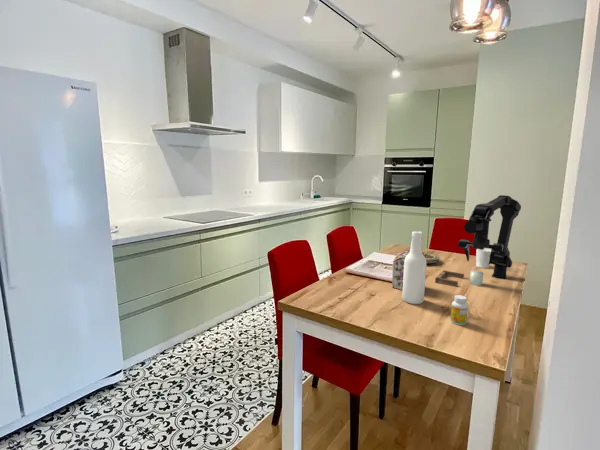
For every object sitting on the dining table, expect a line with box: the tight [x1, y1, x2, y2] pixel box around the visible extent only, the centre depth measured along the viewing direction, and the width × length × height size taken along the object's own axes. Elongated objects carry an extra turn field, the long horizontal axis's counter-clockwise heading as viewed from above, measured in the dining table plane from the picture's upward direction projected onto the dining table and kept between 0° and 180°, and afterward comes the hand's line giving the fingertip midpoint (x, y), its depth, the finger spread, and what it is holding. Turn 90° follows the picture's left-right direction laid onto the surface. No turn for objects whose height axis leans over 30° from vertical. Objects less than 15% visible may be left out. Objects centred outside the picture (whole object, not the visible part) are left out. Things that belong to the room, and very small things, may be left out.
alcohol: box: [401, 230, 427, 305], centre depth 141 cm, size 9×9×30 cm
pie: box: [422, 251, 441, 266], centre depth 204 cm, size 28×27×5 cm
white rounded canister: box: [469, 269, 485, 287], centre depth 164 cm, size 6×6×6 cm
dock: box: [434, 270, 465, 288], centre depth 169 cm, size 16×10×2 cm, turn 144°
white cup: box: [475, 248, 491, 269], centre depth 193 cm, size 8×8×10 cm
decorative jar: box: [391, 249, 427, 291], centre depth 158 cm, size 12×12×18 cm
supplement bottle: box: [450, 294, 469, 326], centre depth 123 cm, size 5×5×10 cm
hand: (478, 262), depth 162 cm, fingers open, 9 cm apart
